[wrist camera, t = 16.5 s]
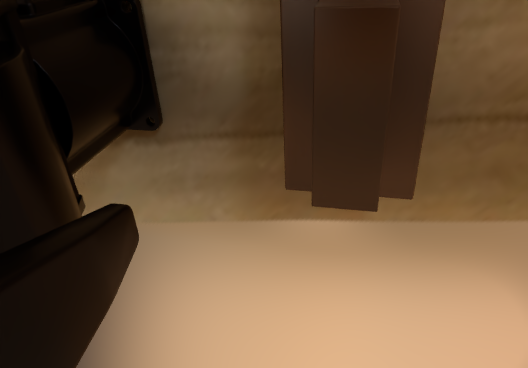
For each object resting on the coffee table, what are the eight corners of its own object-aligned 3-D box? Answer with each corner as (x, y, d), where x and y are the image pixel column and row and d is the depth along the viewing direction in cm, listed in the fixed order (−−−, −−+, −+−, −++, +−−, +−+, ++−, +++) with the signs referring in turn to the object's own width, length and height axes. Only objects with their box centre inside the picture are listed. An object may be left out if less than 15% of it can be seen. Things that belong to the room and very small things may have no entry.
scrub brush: (409, 169, 20) (418, 245, 15) (294, 161, 21) (271, 229, 17) (443, -60, 15) (473, -52, 10) (291, -53, 16) (257, -42, 12)
